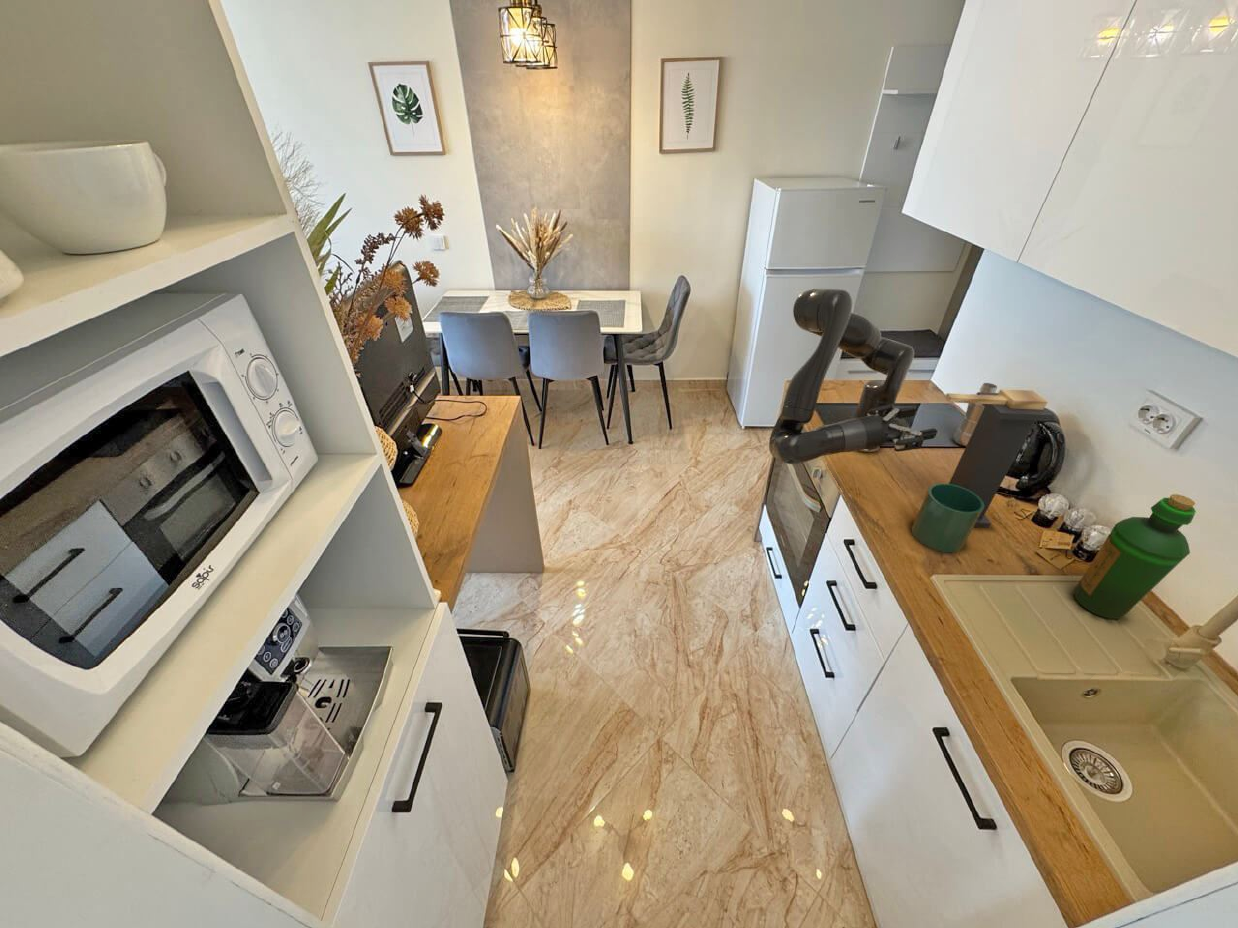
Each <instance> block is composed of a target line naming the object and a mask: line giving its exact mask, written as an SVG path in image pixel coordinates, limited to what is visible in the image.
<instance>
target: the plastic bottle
mask: <svg viewBox="0 0 1238 928" xmlns="http://www.w3.org/2000/svg"><path fill="white" fill-rule="evenodd" d="M997 389H998V385H996V384H994V383H990V382H983V383H982V385H981V387H980V388H979V392H985V393H997V392H996V391H997ZM977 393H978V392H976V393H974V394H973V395H977ZM984 408H985V407H984V406H983V405H982V404H975V403H967V408H966V411H965V414H964V417H963V419H962V421H961V423H960V425H959V426H958V427H957V428H956V430H955V432H954V435H953V440H954V442H955V443H956V444H957V445H960V446H963V447H966V446H967V444H968V442H969V439H970V437H971V435H972V433H973V431H974V429H975V427H976V425H977V422H978V420H979V418H980V416H981V414H982V412H983V410H984Z"/></svg>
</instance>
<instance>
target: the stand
mask: <svg viewBox="0 0 1238 928" xmlns="http://www.w3.org/2000/svg"><path fill="white" fill-rule="evenodd" d="M976 393H977V395H996V396H997V395H998V393H999V392H995V393H985V392H980V391H977V392H976ZM982 405H983V406H984V407H985V408H984V410H983V412H982V414H981V416H980V418H979V420H978V422H977V425H976V427H975V429H974V431H973V433H972V435H971V437H970V439H969V442H968V444H967V446H965V448H964V451H963V452H962V454H961V456H960V458H959V460H958V463H957V465H956V467H955V469H954V472H953V473H952V476H951V478H950V480H949V482H948V484H953V485H958V486H961V487H963V488H966V489H968V490H970V491H972V492H974V493H975V494H976V495H978V496H979V497H980V498H981V500H982V501H983V503H984V508H983V510H982V512H981V514H980V516H979V518H978V520H977V522H976V523H975V525H974V527H973V528H986V529H989V528H990V526H991V525H992V522H991V521H990V520H989V519H988V517H987V516H986V515H985V514H986V513H987V511H988V509H989V507H990V505H991V503H992V502H993V500H994V498H995V496H996V494H997V493H998V491H999V489H1000V487H1001V485H1002V483H1003V481H1004V480H1005V478H1006V475H1007V474H1008V472H1009V471H1010V468H1011V467H1012V465H1013V463H1014V462H1015V459H1016V457H1017V456H1018V453H1019V452H1020V450H1021V448H1022V446H1023V444H1024V443H1025V441H1026V440H1027V437H1028V435H1029V433H1030V432H1031V429H1032V428H1033V426H1034V424H1035V422H1052V421H1053V419H1054V417H1055V414H1053V413H1052V412H1051V411H1050V410H1048V409H1047V408H1046V407H1045V408H1044V409H1043V410H1034V409H1012V408H1009V407H1008V406H1006V405H998V404H982Z"/></svg>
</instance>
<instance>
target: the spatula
mask: <svg viewBox="0 0 1238 928" xmlns="http://www.w3.org/2000/svg"><path fill="white" fill-rule="evenodd" d="M997 393H998V395H997V396H996V395H974V394H970V393H946V394H945V396H944V399H945V400H946V401H947V402H948V403H957V404H968V403H975V404H998V405H1006V406H1008V407H1009V408H1012V409H1034V410H1043V409H1044V408H1046V407H1047V404H1048V401H1047V400H1046V399H1045V398H1043V397H1042V396H1041V395H1040V394H1038V393H1036V392H1035V391H1034V390H1026V389H1004V388H1003V389H1002V388H1001V389H999V390H998V392H997Z"/></svg>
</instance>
